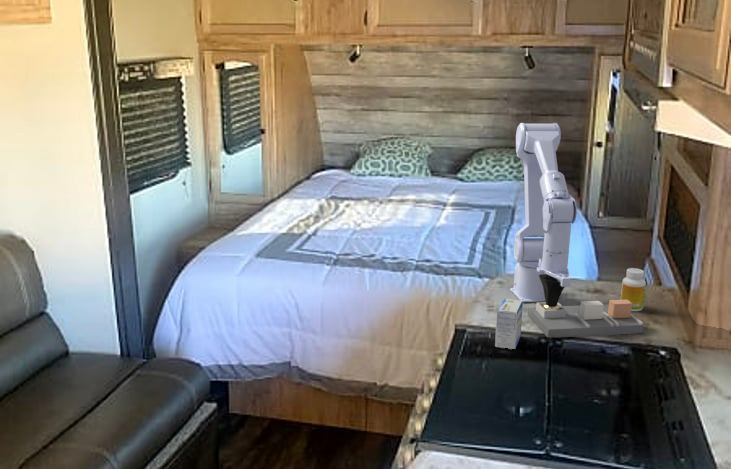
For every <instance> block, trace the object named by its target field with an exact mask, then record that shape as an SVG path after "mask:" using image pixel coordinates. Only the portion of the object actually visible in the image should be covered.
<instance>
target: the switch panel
mask: <svg viewBox="0 0 731 469" xmlns="http://www.w3.org/2000/svg"><path fill="white" fill-rule="evenodd" d="M535 303H536V304H535V305H536V306H535V307H528V308H527V317H528V318H529V319H530V320H531V321H532V322H533V323H534V325H536V327H537V328H538V329H539V330H540V331H541V332H542V333H543V334H544V335H545V336H546V337H547V338H548V337H549V338H548V339H552V338H553V337H554V338H568V337H569V338H570V337H571V338H572V337H588V336H592V337H593V336H611V335H633V334H643V331H644V330H643V329H644V322H643V321H641V320H640V319H639V318H638V317H637V316H635V315H634V314H632V313H631V318H612V317H611V316H609V315H608V308H609V303H606V304H603V315H602V319H589V320H584V319H583V318H581V317H580V316H579V314H580V305H562V304H561V303H560V302H558V303H557V304H558V305H559V310H545V309H544V308H543V304H544V303H546V302H545V301H542V302H535ZM554 338H553V339H554Z"/></svg>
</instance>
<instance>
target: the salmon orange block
mask: <svg viewBox="0 0 731 469" xmlns="http://www.w3.org/2000/svg"><path fill="white" fill-rule="evenodd" d="M608 304H609V308H608V315H609V316H611V317H612V318H631V314H632V312H633V311H632V303H631V302H630V301H629V300H620V299H609V301H608Z"/></svg>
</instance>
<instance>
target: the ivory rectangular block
mask: <svg viewBox="0 0 731 469" xmlns="http://www.w3.org/2000/svg"><path fill="white" fill-rule="evenodd" d="M603 305H604V304H603V303H602V302H601V301H600V300H590V301H589V300H587V301H586V300H584V301H583V300H582V301H580V305H579V306H580V314H579V316H580V317H581V318H583V319H584V320H589V319H602V315H603Z"/></svg>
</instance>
